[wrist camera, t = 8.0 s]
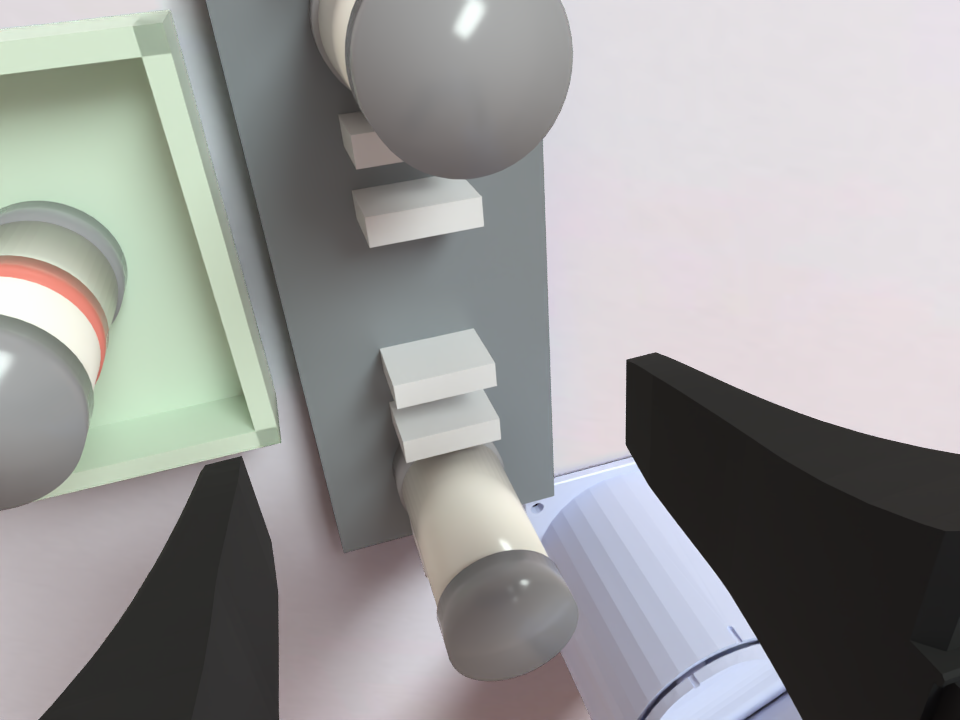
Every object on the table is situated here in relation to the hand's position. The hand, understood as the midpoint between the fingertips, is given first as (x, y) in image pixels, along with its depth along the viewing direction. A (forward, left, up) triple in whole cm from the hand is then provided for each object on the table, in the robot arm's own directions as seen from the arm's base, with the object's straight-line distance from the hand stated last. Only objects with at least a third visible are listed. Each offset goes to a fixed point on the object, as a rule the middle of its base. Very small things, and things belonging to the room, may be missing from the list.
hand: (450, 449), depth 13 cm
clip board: (-1, -1, -10) cm, 10 cm away
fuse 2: (-8, -1, -9) cm, 12 cm away
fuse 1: (+6, -1, -9) cm, 11 cm away
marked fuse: (+1, +8, -10) cm, 13 cm away
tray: (+1, +8, -10) cm, 13 cm away
